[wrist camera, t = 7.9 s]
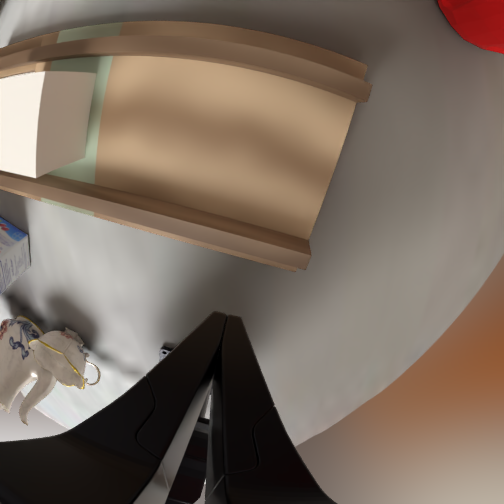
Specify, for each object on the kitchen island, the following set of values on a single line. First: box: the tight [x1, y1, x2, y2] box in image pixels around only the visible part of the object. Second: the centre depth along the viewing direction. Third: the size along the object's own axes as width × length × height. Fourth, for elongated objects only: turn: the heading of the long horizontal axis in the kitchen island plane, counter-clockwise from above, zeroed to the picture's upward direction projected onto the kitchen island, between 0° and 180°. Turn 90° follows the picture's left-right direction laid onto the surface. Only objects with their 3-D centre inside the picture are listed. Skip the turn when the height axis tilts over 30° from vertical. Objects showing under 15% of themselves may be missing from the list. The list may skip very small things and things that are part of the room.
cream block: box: [0, 71, 97, 178], centre depth 12 cm, size 6×6×5 cm
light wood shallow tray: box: [0, 21, 372, 272], centre depth 14 cm, size 14×32×4 cm, turn 75°
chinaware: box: [0, 315, 100, 425], centre depth 23 cm, size 28×17×17 cm, turn 73°
